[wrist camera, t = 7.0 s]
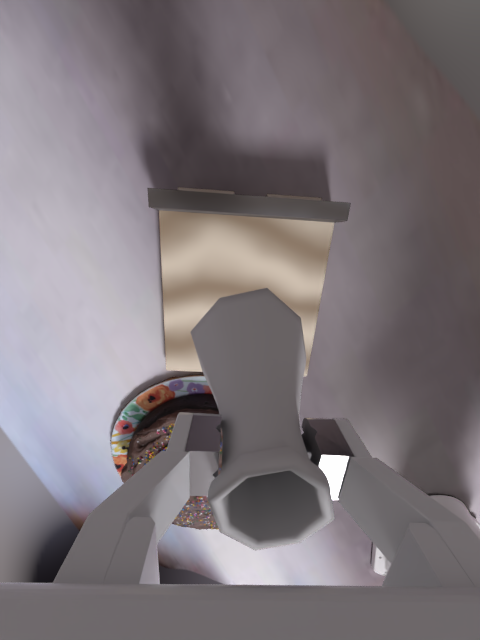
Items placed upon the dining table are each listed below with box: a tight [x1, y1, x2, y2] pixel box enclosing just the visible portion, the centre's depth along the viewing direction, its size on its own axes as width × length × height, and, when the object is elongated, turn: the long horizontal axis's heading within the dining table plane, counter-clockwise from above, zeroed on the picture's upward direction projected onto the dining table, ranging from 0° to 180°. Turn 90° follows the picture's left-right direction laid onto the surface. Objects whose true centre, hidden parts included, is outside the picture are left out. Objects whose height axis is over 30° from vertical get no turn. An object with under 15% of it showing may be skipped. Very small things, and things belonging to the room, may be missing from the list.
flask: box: [191, 288, 334, 550], centre depth 11 cm, size 7×7×10 cm
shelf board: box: [148, 187, 351, 376], centre depth 26 cm, size 20×18×4 cm
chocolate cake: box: [110, 375, 223, 530], centre depth 34 cm, size 28×28×7 cm
